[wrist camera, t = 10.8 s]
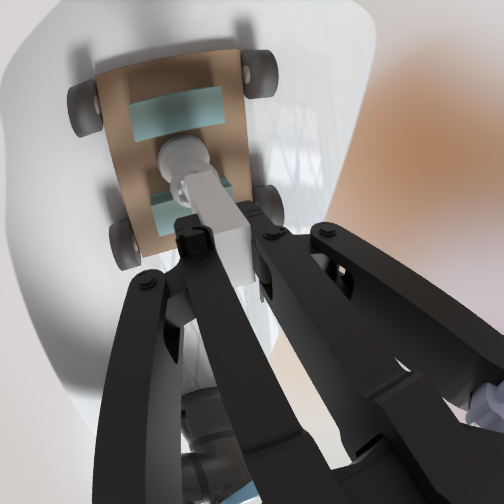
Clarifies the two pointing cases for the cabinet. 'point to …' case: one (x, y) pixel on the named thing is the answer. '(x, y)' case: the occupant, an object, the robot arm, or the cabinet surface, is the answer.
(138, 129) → the chassis
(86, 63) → the cabinet surface
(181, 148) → the rook chess piece
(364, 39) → the cabinet surface
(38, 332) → the cabinet surface
